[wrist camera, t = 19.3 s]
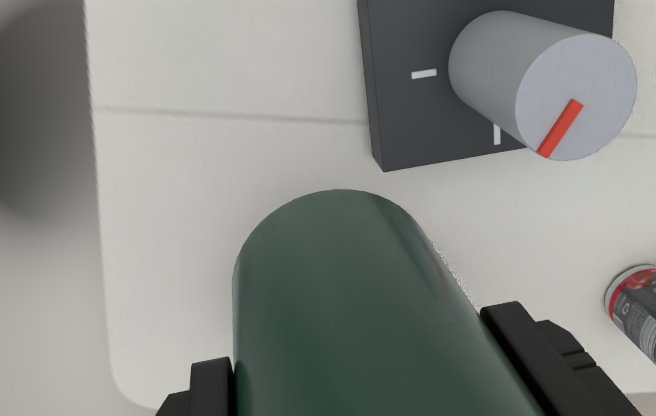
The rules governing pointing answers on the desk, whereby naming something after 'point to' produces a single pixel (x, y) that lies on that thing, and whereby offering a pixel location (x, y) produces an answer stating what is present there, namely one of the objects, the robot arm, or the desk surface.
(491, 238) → the desk surface
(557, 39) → the grey round cylinder
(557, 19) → the dark grey panel
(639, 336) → the pill bottle
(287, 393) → the tea tin
